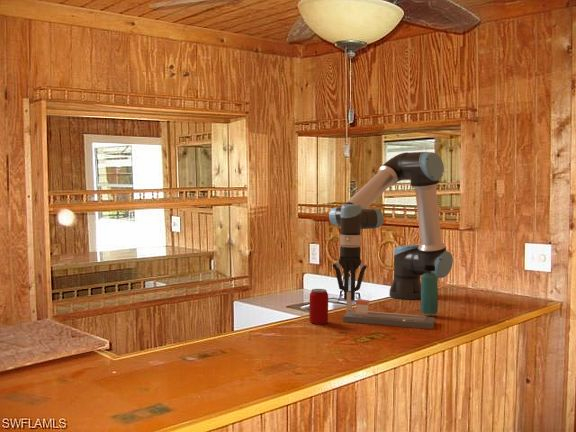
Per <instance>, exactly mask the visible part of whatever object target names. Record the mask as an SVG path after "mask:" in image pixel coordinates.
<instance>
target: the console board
mask: <svg viewBox="0 0 576 432" xmlns="http://www.w3.org/2000/svg"><path fill="white" fill-rule="evenodd" d="M342 318H343V319H342V322H345V323H355V324H367V325H379V326H390V327H391V326H392V327H401V328H413V329H415V328H416V329H424V330H425V329H426V330H434V326H435V323H436V322H435V320H436V317H435V316H434V317H433V316H432V317H431V316H426V315H419V314H406V313H405V314H404V313H394V312H381V311H369V310H368V314H360V313H356V310H348V311H347V312H345V314H344V315H343V317H342Z"/></svg>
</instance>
